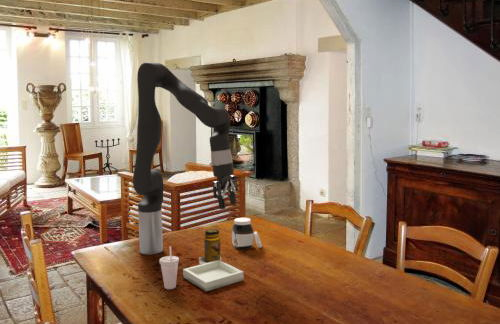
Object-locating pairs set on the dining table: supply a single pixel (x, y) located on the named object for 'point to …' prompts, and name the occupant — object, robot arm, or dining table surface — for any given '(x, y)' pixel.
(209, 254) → the condiment
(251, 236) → the spread jar
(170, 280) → the smoothie
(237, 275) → the tray
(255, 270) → the dining table surface
